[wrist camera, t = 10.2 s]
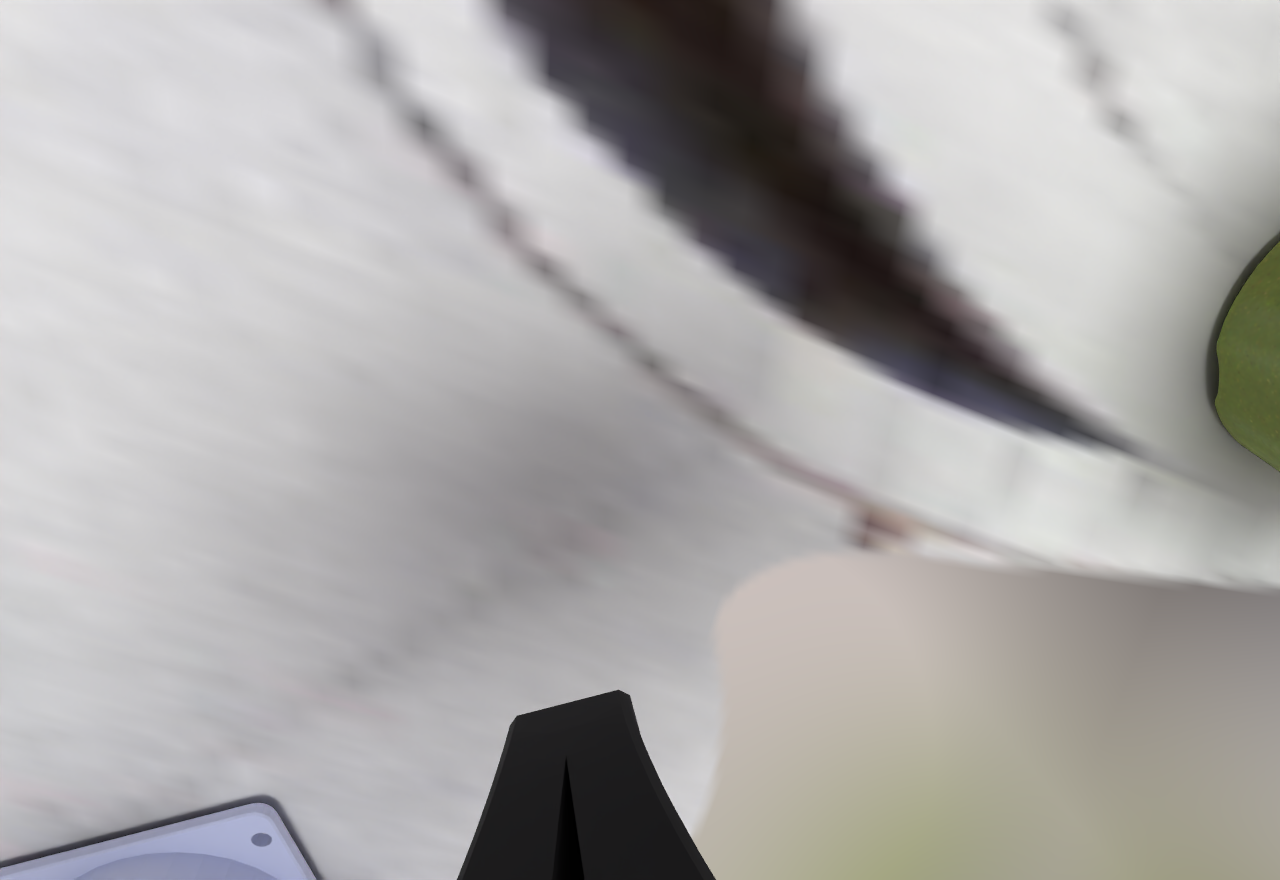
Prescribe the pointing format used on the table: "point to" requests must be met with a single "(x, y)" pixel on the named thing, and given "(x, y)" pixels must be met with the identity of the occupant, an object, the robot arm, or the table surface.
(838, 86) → the table surface
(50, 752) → the table surface
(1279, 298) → the plant pot
